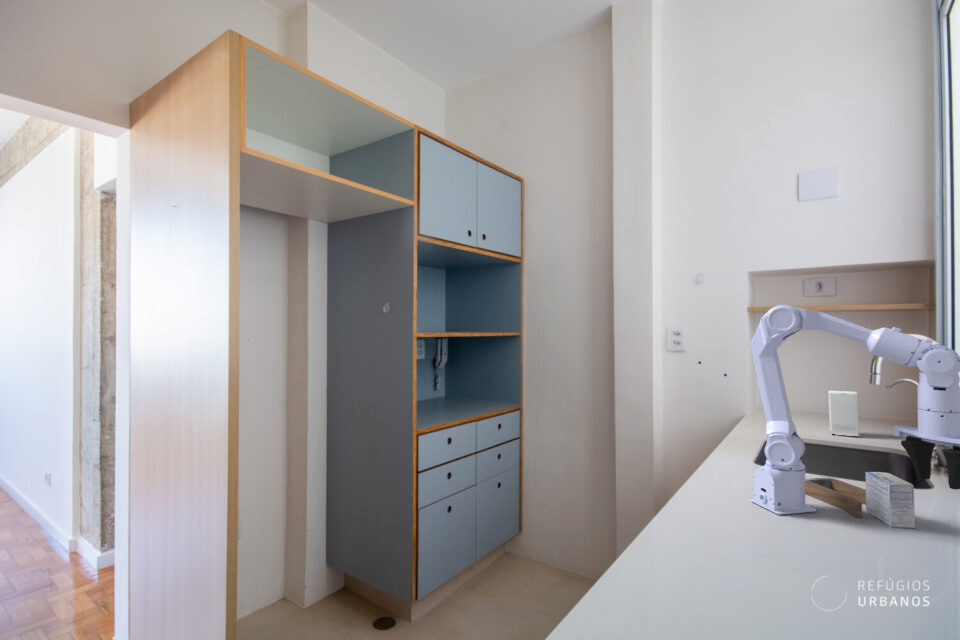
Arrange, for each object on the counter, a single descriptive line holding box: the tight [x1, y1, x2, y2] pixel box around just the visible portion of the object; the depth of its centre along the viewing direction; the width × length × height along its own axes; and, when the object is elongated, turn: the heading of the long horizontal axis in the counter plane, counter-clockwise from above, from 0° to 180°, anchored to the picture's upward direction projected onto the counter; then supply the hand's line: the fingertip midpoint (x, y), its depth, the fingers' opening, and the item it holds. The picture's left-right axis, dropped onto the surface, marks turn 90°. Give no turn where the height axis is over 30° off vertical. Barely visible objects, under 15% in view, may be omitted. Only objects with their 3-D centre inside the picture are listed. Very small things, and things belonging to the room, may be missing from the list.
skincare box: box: [827, 390, 860, 434], centre depth 168 cm, size 8×7×16 cm
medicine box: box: [865, 471, 916, 529], centre depth 95 cm, size 8×4×9 cm, turn 168°
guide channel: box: [805, 476, 866, 519], centre depth 105 cm, size 11×15×3 cm
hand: (939, 483), depth 87 cm, fingers open, 5 cm apart
